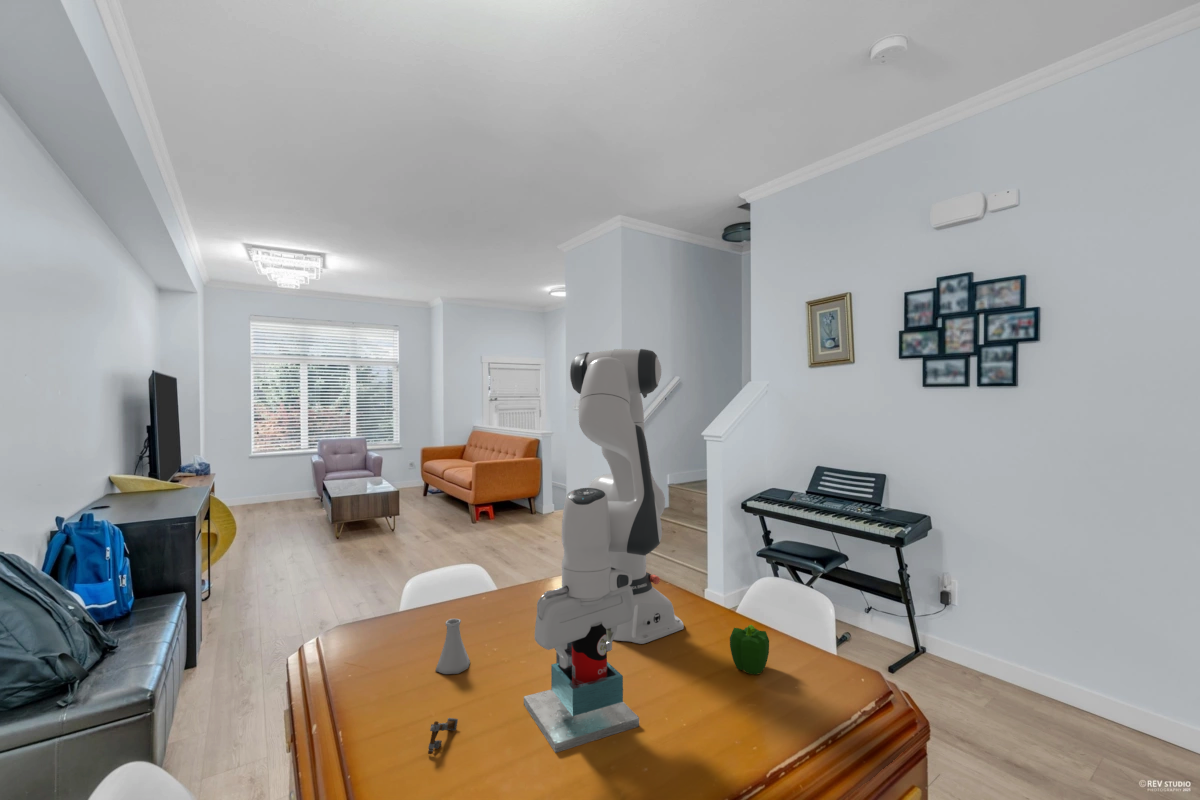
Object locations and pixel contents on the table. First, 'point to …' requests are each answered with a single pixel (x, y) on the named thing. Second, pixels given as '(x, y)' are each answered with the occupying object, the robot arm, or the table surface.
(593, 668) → the beverage can
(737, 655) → the bell pepper
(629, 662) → the table surface
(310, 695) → the table surface
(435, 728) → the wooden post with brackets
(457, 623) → the flask
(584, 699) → the cup bracket stand
